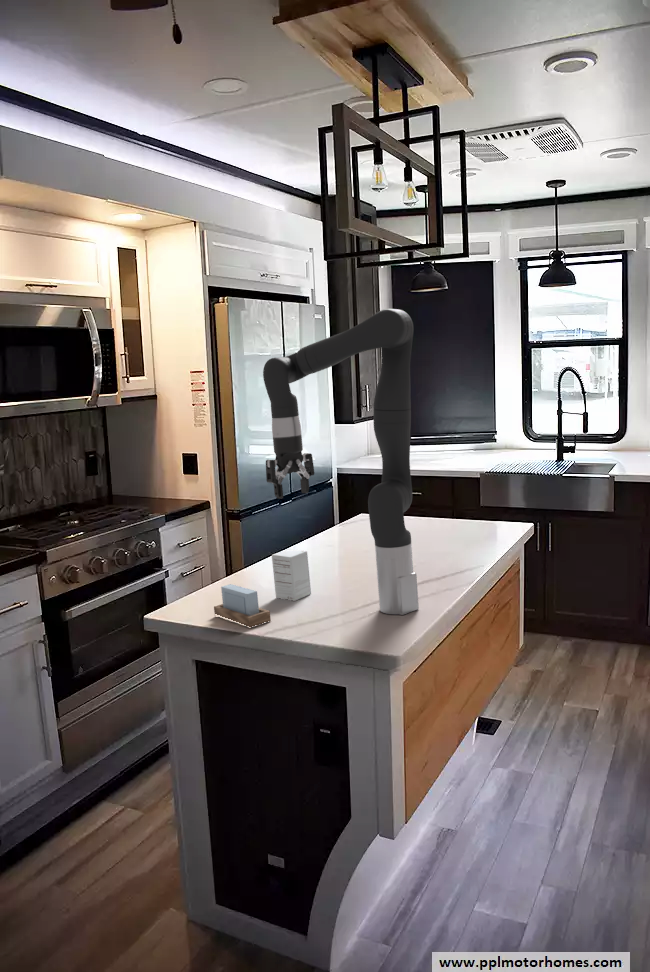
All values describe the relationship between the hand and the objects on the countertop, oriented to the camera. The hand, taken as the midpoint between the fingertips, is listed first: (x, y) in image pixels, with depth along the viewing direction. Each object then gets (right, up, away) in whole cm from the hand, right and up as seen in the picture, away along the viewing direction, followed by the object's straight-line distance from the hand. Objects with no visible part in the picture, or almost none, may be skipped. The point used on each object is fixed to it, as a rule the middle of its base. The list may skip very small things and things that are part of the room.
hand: (292, 495), depth 211 cm
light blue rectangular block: (-13, -31, -3) cm, 34 cm away
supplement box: (0, -29, +14) cm, 32 cm away
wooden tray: (-13, -32, -3) cm, 35 cm away
